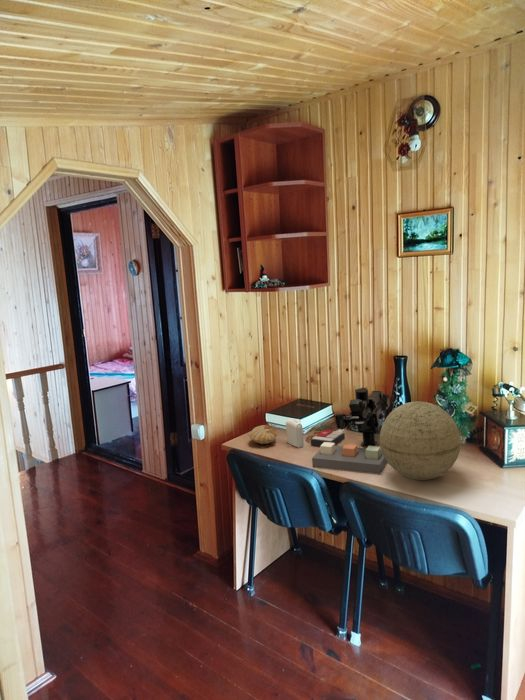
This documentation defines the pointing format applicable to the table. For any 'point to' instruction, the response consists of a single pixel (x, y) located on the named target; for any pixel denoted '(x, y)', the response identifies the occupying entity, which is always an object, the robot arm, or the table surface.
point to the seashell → (263, 434)
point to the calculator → (327, 438)
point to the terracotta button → (350, 450)
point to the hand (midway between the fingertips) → (351, 428)
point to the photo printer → (294, 433)
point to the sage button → (373, 452)
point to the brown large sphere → (420, 440)
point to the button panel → (349, 461)
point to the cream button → (327, 448)
